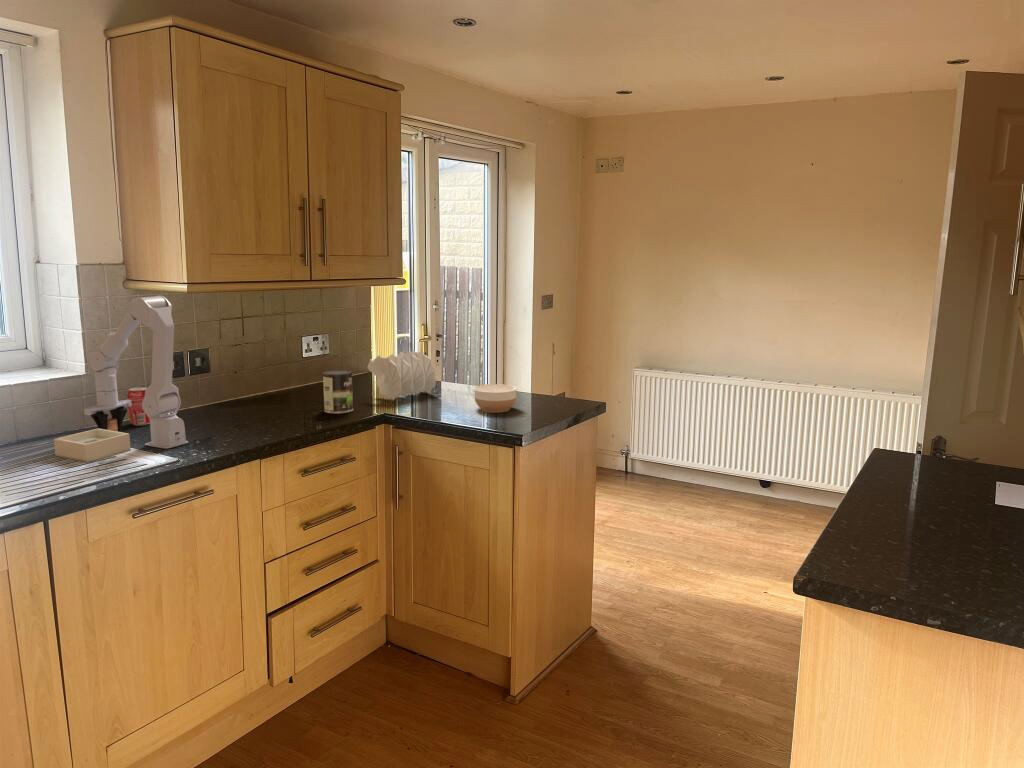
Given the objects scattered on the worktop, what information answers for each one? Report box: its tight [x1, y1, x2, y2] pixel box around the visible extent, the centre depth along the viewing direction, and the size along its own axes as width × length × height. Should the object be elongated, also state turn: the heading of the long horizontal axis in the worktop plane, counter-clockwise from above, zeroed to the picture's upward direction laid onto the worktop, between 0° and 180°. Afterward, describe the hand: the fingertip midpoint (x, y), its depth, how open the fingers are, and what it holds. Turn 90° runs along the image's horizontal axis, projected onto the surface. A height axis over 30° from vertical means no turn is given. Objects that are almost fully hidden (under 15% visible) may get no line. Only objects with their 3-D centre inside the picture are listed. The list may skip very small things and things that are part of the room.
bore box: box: [53, 427, 132, 463], centre depth 218 cm, size 14×14×5 cm
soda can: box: [126, 386, 150, 427], centre depth 251 cm, size 7×7×12 cm
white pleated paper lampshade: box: [367, 349, 437, 401], centre depth 297 cm, size 18×18×25 cm
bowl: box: [472, 383, 518, 414], centre depth 276 cm, size 16×16×8 cm
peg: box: [107, 417, 118, 432], centre depth 233 cm, size 4×4×6 cm
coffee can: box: [322, 369, 354, 415], centre depth 272 cm, size 10×10×14 cm
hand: (110, 433), depth 233 cm, fingers closed on peg, 4 cm apart
